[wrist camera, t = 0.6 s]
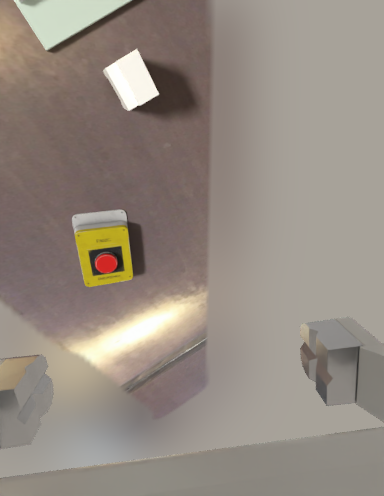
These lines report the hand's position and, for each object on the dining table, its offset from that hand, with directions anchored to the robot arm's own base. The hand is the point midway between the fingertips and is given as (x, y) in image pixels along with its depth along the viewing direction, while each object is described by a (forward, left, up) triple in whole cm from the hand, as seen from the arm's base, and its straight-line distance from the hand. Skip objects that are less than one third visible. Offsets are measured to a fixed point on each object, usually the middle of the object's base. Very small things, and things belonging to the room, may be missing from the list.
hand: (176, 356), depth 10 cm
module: (-2, +9, -46) cm, 47 cm away
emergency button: (+10, -16, -46) cm, 50 cm away
